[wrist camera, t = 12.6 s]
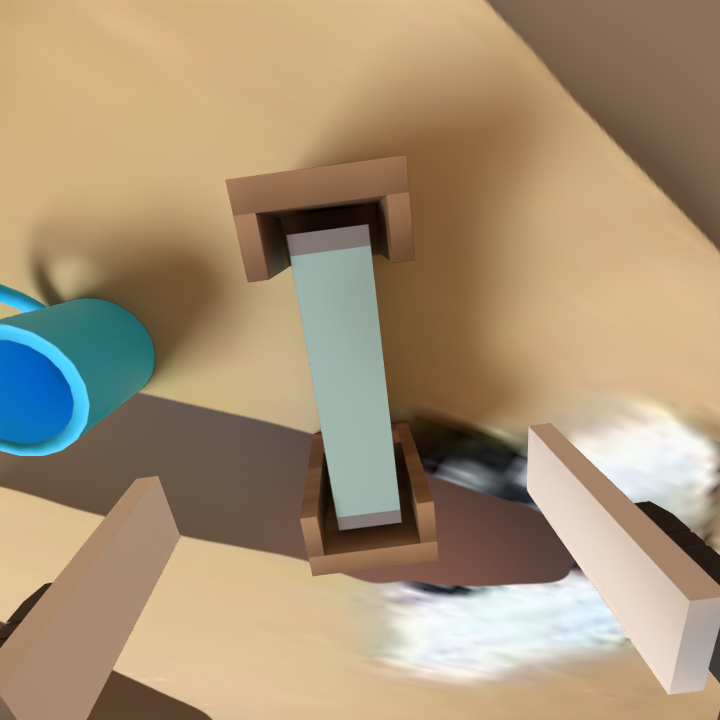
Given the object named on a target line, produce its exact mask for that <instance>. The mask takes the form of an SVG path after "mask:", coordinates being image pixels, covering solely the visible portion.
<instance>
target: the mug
mask: <svg viewBox="0 0 720 720" xmlns="http://www.w3.org/2000/svg"><path fill="white" fill-rule="evenodd" d="M0 302H2V303H5V304H8V305H10V306H13V307H15V308H17V309H19V310H21V311H23V312H25V313H22V314H19V315H15V316H11V317H7V318H3V319H0V451H4V452H8V453H12V454H16V455H19V456H44V455H47V454H50V453H54V452H58V451H61V450H63V449H64V448H66V447H67V446H69V445H70V444H71V443H73V442H74V441H75V440H77V439H78V438H79V437H81V436H82V435H83V434H85V433H86V432H87V431H88V430H90V429H91V428H92V427H94V426H95V425H96V424H97V423H99V422H100V421H101V420H102V419H104V418H105V417H106V416H108V415H109V414H110V413H111V412H112V411H114V410H115V409H117V408H118V407H119V406H120V405H122V404H123V403H124V402H125V401H127V400H128V399H129V398H130V397H132V396H133V395H134V394H136V393H137V392H138V391H139V390H141V389H142V388H143V387H145V385H146V384H147V382H148V381H149V379H150V377H151V376H152V374H153V370H154V365H155V353H154V346H153V343H152V341H151V339H150V337H149V334H148V332H147V330H146V328H145V327H144V326H143V325H142V324H141V323H140V322H139V321H138V319H137V318H136V317H135V316H134V315H133V314H131V313H130V312H128V311H127V310H125V309H124V308H122V307H121V306H119V305H117V304H115V303H111V302H108V301H105V300H102V299H96V298H80V299H76V300H72V301H68V302H65V303H61V304H57V305H53V306H49V307H47V306H45V305H44V304H42V303H40V302H39V301H37V300H35V299H33V298H31V297H29V296H27V295H26V294H24V293H22V292H19V291H17V290H14V289H12V288H9V287H6V286H4V285H1V284H0Z"/></svg>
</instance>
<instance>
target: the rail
mask: <svg viewBox="0 0 720 720" xmlns="http://www.w3.org/2000/svg"><path fill="white" fill-rule="evenodd" d="M286 236H287V241H288V247H289V253H290V258H291V264H292V269H293V275H294V280H295V286H296V292H297V297H298V303H299V308H300V314H301V320H302V325H303V331H304V336H305V342H306V347H307V353H308V359H309V364H310V370H311V375H312V381H313V387H314V392H315V398H316V403H317V409H318V414H319V420H320V426H321V431H322V437H323V442H324V448H325V454H326V459H327V465H328V470H329V476H330V481H331V487H332V493H333V498H334V504H335V509H336V515H337V520H338V526H339V530H346V529H354V528H361V527H369V526H377V525H385V524H393V523H401V522H402V521H401V512H400V503H399V494H398V485H397V476H396V468H395V459H394V450H393V441H392V432H391V423H390V414H389V405H388V396H387V387H386V379H385V370H384V361H383V352H382V343H381V334H380V325H379V316H378V307H377V299H376V290H375V281H374V272H373V263H372V254H371V245H370V236H369V227H368V224H367V225H359V226H352V227H344V228H337V229H329V230H322V231H314V232H307V233H299V234H292V235H286Z"/></svg>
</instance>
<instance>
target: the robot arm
mask: <svg viewBox="0 0 720 720" xmlns="http://www.w3.org/2000/svg"><path fill="white" fill-rule="evenodd" d="M527 491H528V493H529V494H530V495H531V497H532V498H533V500H534V501H535V503H536V504H537V506H538V507H539V508H540V510H541V511H542V513H543V514H544V516H545V517H546V519H547V520H548V521H549V523H550V524H551V526H552V527H553V529H554V530H555V531H556V533H557V534H558V536H559V537H560V539H561V540H562V541H563V543H564V544H565V546H566V547H567V549H568V550H569V552H570V553H571V555H572V556H573V557H574V559H575V560H576V562H577V563H578V565H579V566H580V568H581V569H582V570H583V572H584V573H585V575H586V576H587V578H588V579H589V581H590V582H591V583H592V585H593V586H594V588H595V589H596V591H597V592H598V594H599V595H600V596H601V598H602V599H603V601H604V602H605V604H606V605H607V607H608V608H609V609H610V611H611V612H612V614H613V615H614V617H615V618H616V620H617V621H618V622H619V624H620V625H621V627H622V628H623V630H624V631H625V632H626V634H627V635H628V637H629V638H630V640H631V641H632V643H633V644H634V645H635V647H636V648H637V650H638V651H639V653H640V654H641V656H642V657H643V658H644V660H645V661H646V663H647V664H648V666H649V667H650V669H651V670H652V671H653V673H654V674H655V676H656V677H657V679H658V680H659V682H660V683H661V684H662V686H663V687H664V689H665V690H666V692H667V693H668V695H671V694H679V693H686V692H694V691H701V690H705V686H706V683H707V679H708V675H709V672H711V673H712V674H713V675H714V677H715V678H716V679H717V680H718V682H719V683H720V555H719V554H718V553H717V552H715V551H714V550H713V549H712V548H711V547H710V546H706V544H705V542H704V541H703V540H702V539H701V538H700V537H698V536H697V535H696V534H695V533H694V532H693V533H692V532H691V531H690V529H689V528H688V527H687V526H686V525H685V524H684V523H682V522H681V521H680V520H679V519H678V518H677V517H676V516H675V515H673V514H672V513H670V512H669V511H667V510H665V509H663V508H661V507H659V506H658V505H656V504H654V503H652V502H650V501H647V502H640V503H633V502H632V501H631V500H630V499H629V498H628V497H627V496H626V495H625V494H624V493H623V492H622V491H620V490H619V489H618V488H617V487H616V486H615V485H614V484H613V483H612V482H611V481H610V480H609V479H608V478H607V477H606V476H605V475H604V474H603V473H602V472H601V471H600V470H599V469H598V468H596V467H595V466H594V465H593V464H592V463H591V462H590V461H589V460H588V459H587V458H586V457H585V456H584V455H583V454H582V453H581V452H580V451H579V450H578V449H577V448H576V447H575V446H574V445H573V444H571V443H570V442H569V441H568V440H567V439H566V438H565V437H564V436H563V435H562V434H561V433H560V432H559V431H558V430H557V429H556V428H555V427H554V426H553V425H552V424H551V423H548V424H541V425H534V426H529V434H528V474H527ZM179 539H180V535H179V533H178V530H177V527H176V525H175V522H174V519H173V516H172V513H171V511H170V508H169V505H168V502H167V500H166V497H165V494H164V491H163V489H162V486H161V483H160V481H159V478H158V476H155V477H148V478H140V479H136V480H135V481H134V483H133V484H132V485H131V486H130V487H129V489H128V490H127V491H126V493H125V494H124V495H123V496H122V498H121V499H120V500H119V501H118V502H117V504H116V505H115V506H114V508H113V509H112V510H111V511H110V512H109V514H108V515H107V516H106V517H105V519H104V520H103V521H102V522H101V524H100V525H99V526H98V527H97V529H96V530H95V531H94V532H93V533H92V535H91V536H90V537H89V538H88V540H87V541H86V542H85V543H84V545H83V546H82V547H81V548H80V550H79V551H78V552H77V553H76V555H75V556H74V557H73V558H72V560H71V561H70V562H69V563H68V565H67V566H66V567H65V568H64V570H63V571H62V572H61V573H60V575H59V576H58V577H57V578H56V580H55V581H54V582H53V583H47V584H44V585H43V586H42V587H41V588H40V589H38V590H37V591H36V592H35V593H34V594H32V595H31V596H30V597H29V598H28V599H26V600H25V601H24V602H23V603H22V604H21V605H20V607H19V608H18V609H17V610H16V611H15V613H14V614H13V615H12V616H11V617H10V618H9V620H8V621H7V622H6V626H3V627H2V628H1V629H0V720H86V719H87V717H88V715H89V713H90V711H91V709H92V708H93V706H94V703H95V702H96V700H97V698H98V696H99V694H100V692H101V690H102V688H103V686H104V684H105V682H106V680H107V678H108V676H109V675H110V672H111V671H112V669H113V667H114V665H115V663H116V661H117V659H118V657H119V655H120V653H121V651H122V649H123V647H124V645H125V643H126V641H127V640H128V638H129V636H130V634H131V632H132V630H133V628H134V626H135V624H136V622H137V620H138V618H139V616H140V614H141V612H142V610H143V608H144V607H145V605H146V603H147V601H148V599H149V597H150V595H151V593H152V591H153V589H154V587H155V585H156V583H157V581H158V579H159V577H160V575H161V574H162V572H163V570H164V568H165V566H166V564H167V562H168V560H169V558H170V556H171V554H172V552H173V550H174V548H175V546H176V544H177V542H178V540H179ZM717 720H720V712H719V715H718V719H717Z"/></svg>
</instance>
